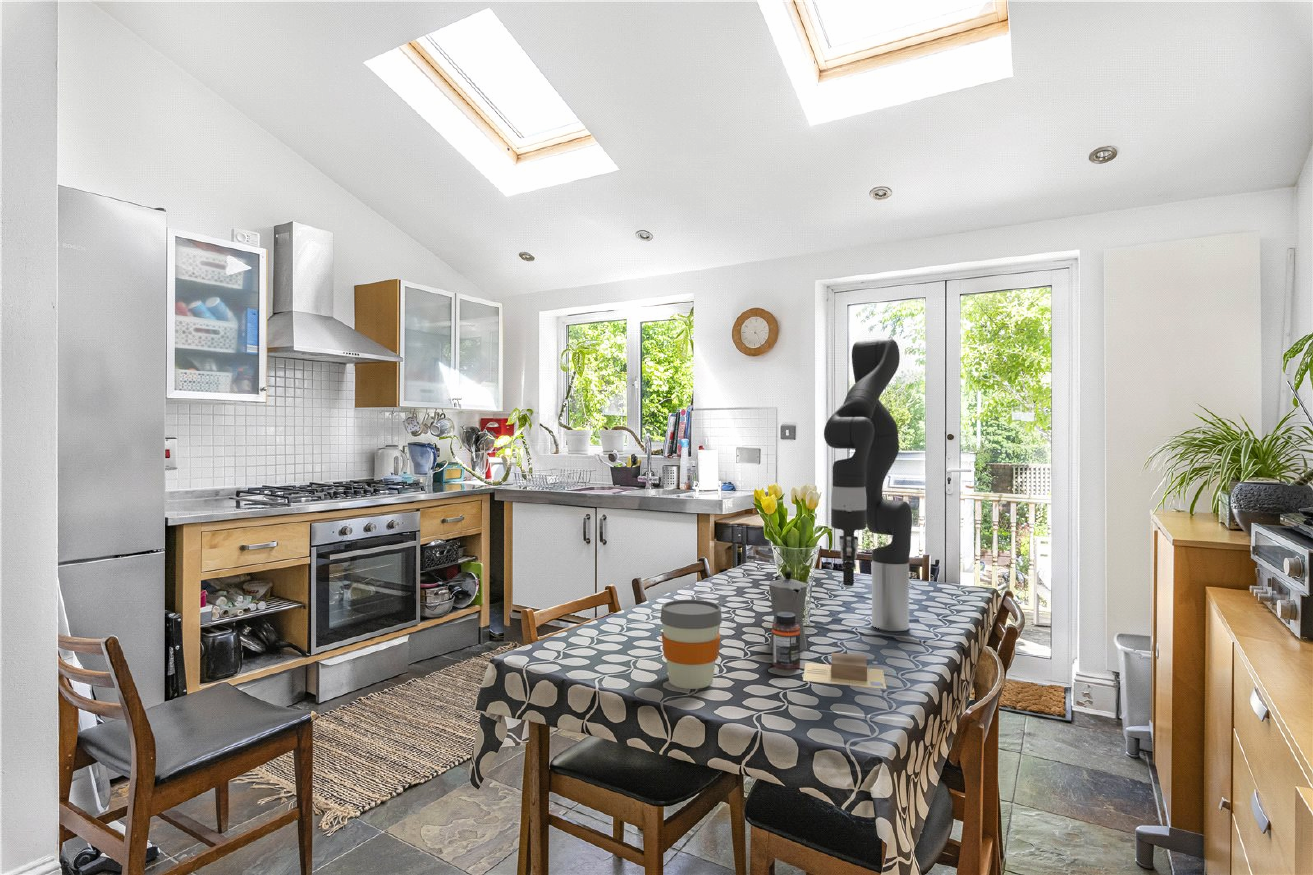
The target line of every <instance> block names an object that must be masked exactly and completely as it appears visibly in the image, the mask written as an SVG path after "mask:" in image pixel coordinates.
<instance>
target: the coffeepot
mask: <svg viewBox="0 0 1313 875" xmlns="http://www.w3.org/2000/svg"><path fill="white" fill-rule="evenodd" d="M792 572H793V571H789V570H787V571H784V575H785V577H784V576H782V575H780V574H777V575H776V576H775V578H774V580H771V581H769V583H768V587H769V594H770V595H769V596H770V602H771V610H772V613H773V619H772V625H771V626H773V624H774V623H776V621H777V619H776V618H777V613H779V612H790V613H794V614H795V619H796V620H795V622H796V623H797V624H798V625H799V627H800V653H801V652H804V651H807V646H808V644H807V639H806V638H807V637H806V631H805V625H804V624H805V623H804V620H803V614H804V610H805V604H806V597H807V589H808V588H807V587H808V583H806V582H803V581H799V580H795V579H793V578H792ZM768 648H770V649H772V630H771V632H770V638H769V644H768Z"/></svg>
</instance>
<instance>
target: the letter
mask: <svg viewBox="0 0 1313 875" xmlns="http://www.w3.org/2000/svg"><path fill="white" fill-rule="evenodd" d="M802 681H803V682H810V683H811V682H813V683H822V684H823V683H825V684H833V685H840V686H841V685H844V686H851V687H852V686H854V687H863V688H870V689H871V688H872V689H873V688H874V689H882V690H887V684H886V680H885V674H884V670H883V669H877V668H868V667H867V681H857V680H846V679H836V678H831V664H825V663H823V664H822V663H813V662H812V663H811V662H805V665H804V671H803V678H802Z"/></svg>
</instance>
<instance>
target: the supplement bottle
mask: <svg viewBox="0 0 1313 875" xmlns="http://www.w3.org/2000/svg"><path fill="white" fill-rule="evenodd" d="M776 619H777V621H776V623H774V624H773V623H772V625H773V626H772V625H771V626H772V627H771V631H772V648H771V649H772V651H771V652H772V658H771V660H772V665H773V667H775V668H778V669H781V670H796V669H798V668H800V666H801V652H800V627H799V625H798V624H797V623H796V622H795V620H796V619H795V614H794V613H790V612H779V613H777V618H776Z"/></svg>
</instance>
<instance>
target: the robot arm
mask: <svg viewBox="0 0 1313 875" xmlns="http://www.w3.org/2000/svg"><path fill="white" fill-rule="evenodd" d="M900 356H901V355H900V349H899V344H898V343H897V341H896V340H894V339H893V338H876V339H869V340H868V339H867V340H860V341H856V342H855V343H854V344H853V346H852V349H851V365H852V370H853V371H852V372H853V376H854V384H853V385H852V387H850V389H849V390H848V391H847V394H846V397H845V399H844V402H842V403H843V404H842V405H841V406H840V407H839V408H838V409H837V410H836V411H835V412H834V413H833V414H832V415H831V416H830V417H829V419H828V420H827V422H826V423H825V426H824V428H823V437H824V438H823V439H824V441H825V443H826V444H827V446H829V447H830V448H833V449H839V450H841V449H843V450H844V449H845V450H847V449H849V450H854V449H855V450H854V453H853V454H852V455H851V457H849V458H843V459H838V460H835V461H834V462H833V464H832V487H831V488H832V490H831V496H830V497H831V498H830V502H831V504H830V506H831V508H830V512H831V513H830V514H831V515H830V516H831V518H830V519H831V520H830V522H831V523H830V526H831V528H832V529H835V530H842V532H843V534H842V535H839V541H838V542H839V546H840V558H841V561H842V563H841V567H842V569H843V570H842V571H843V572H842V574H843V575H842V576H843V578H842V582H843V586H844V587H845V586H846V587H854V584H855V583H854V582H855V581H854V579H855V578H854V577H855V576H854V575H855V572H854V571H855V568H856V564H855V561H856V560H857V557H858V546H859V536H855V532H856V531H863V530H866V529H868V531H869V532H870V533H872V534H877V535H884V536H892V537H891V542H890V543H888V544H887V545H883V546H879V547H876V548H874V549H872V551H871V552H872V553H871V578H872V579H871V626H872V627H873V628H875V627H876V629H878V628H879V630H883V631H888V632H903V631H905V632H906V631H907V630H909V629H910V554H911V548H912V547H911V546H912V545H911V542H912V527H913V526H912V524H913V513H912V512H913V511H912V507H911V505H910V504H909V503H908V502H907V501H904V500H897V499H894V500H893V499H884V497H883V486H884V481H885V479H886V477H887V474H888V473H889V471H890V470H891V468H892V466H893V465H894V463H895V461H896V459H897V457H898V456H899V453H900V442H899V441H900V440H899V432H898V431H899V428H898V425H897V423H896V420H895V419H894V417H893V416H892V414H891V413H890V412H889V411H888V410H887V408H886V407H885V405H884V404H883V403H882V402H881V400H880V397H881V395H882V393H883V392H884V390H885V389H886V388H887V386H888V385H889V383H890V382H891V380H892V379H893V377H894V375H896V372H897V371H898V369H899V364H900V360H901V359H900Z"/></svg>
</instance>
